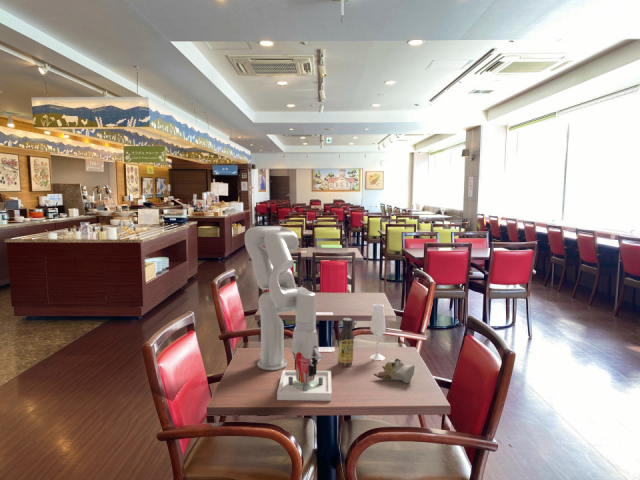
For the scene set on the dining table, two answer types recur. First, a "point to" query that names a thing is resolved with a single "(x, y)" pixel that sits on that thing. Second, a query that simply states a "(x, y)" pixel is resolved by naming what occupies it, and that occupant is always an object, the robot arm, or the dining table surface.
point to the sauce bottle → (346, 344)
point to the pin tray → (307, 394)
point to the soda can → (303, 369)
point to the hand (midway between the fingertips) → (305, 371)
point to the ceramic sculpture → (397, 371)
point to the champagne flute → (378, 327)
